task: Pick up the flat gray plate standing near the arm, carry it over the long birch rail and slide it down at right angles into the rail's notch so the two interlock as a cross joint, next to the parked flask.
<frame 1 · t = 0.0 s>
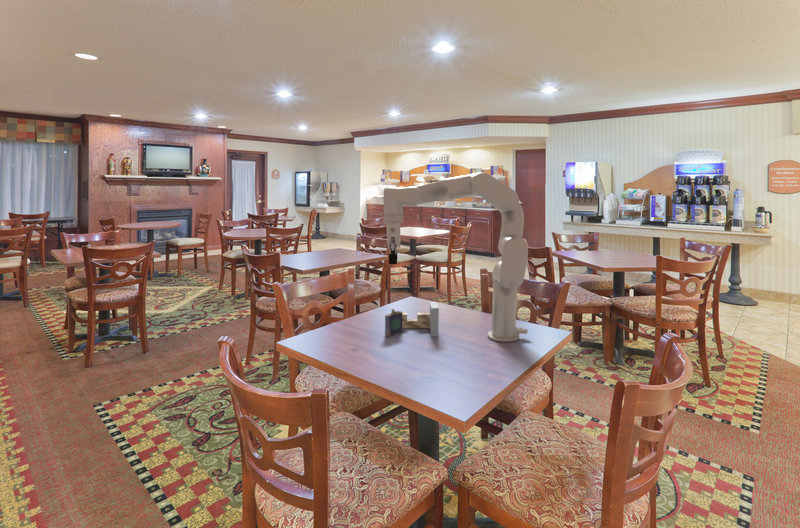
hand: (393, 262, 177), 31 cm above the table, fingers open, 9 cm apart
flat gray plate: (433, 332, 188), on the table
flask: (393, 334, 186), on the table
rail: (412, 326, 196), on the table
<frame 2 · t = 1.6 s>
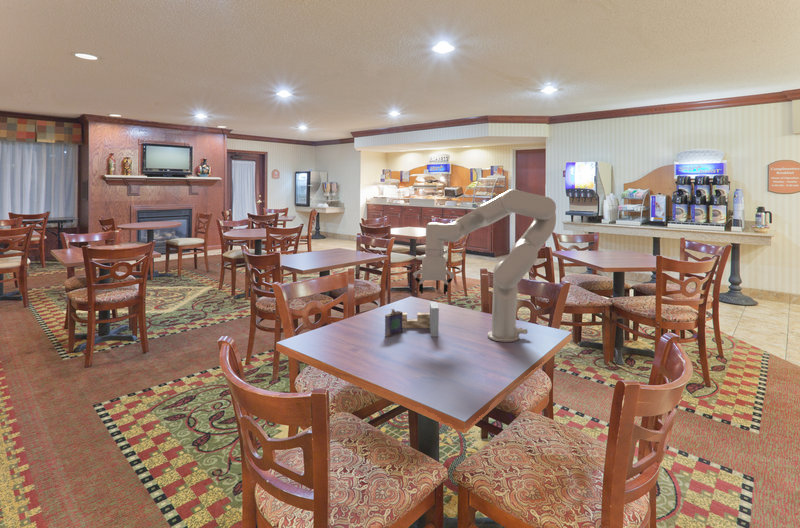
hand: (433, 293, 185), 17 cm above the table, fingers open, 9 cm apart
nothing on the table moved.
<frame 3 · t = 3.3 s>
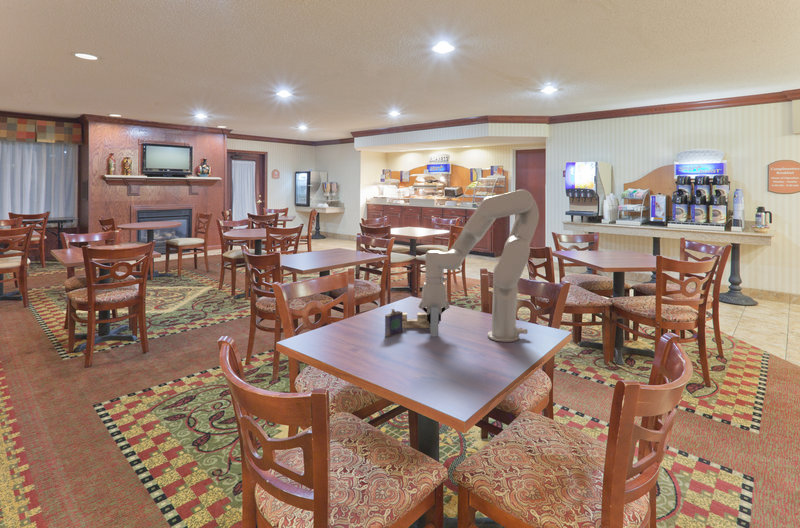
hand: (433, 322, 187), 4 cm above the table, fingers closed on flat gray plate, 3 cm apart
flat gray plate: (433, 332, 188), on the table, touching gripper
everything else where it was.
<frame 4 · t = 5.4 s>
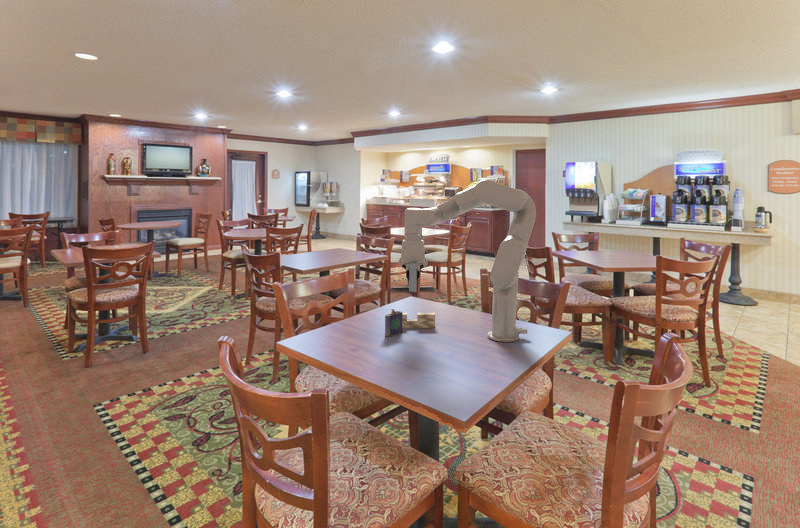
hand: (412, 279, 192), 21 cm above the table, fingers closed on flat gray plate, 3 cm apart
flat gray plate: (412, 289, 193), point 17 cm above the table, touching gripper
everything else where it was.
when the fingers open (7 cm above the table, at t = 7.6 s): flat gray plate drops 3 cm, resting on rail.
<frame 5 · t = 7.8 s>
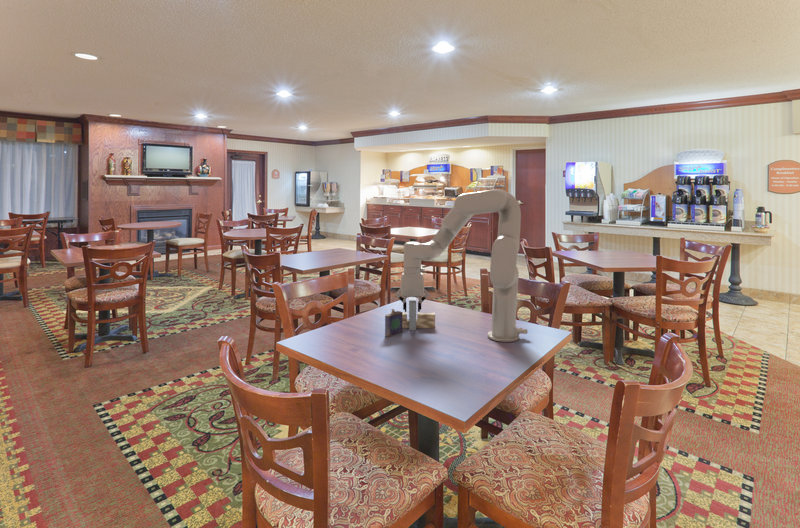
hand: (412, 310, 195), 7 cm above the table, fingers open, 5 cm apart
flat gray plate: (412, 326, 196), resting on rail
everything else where it was.
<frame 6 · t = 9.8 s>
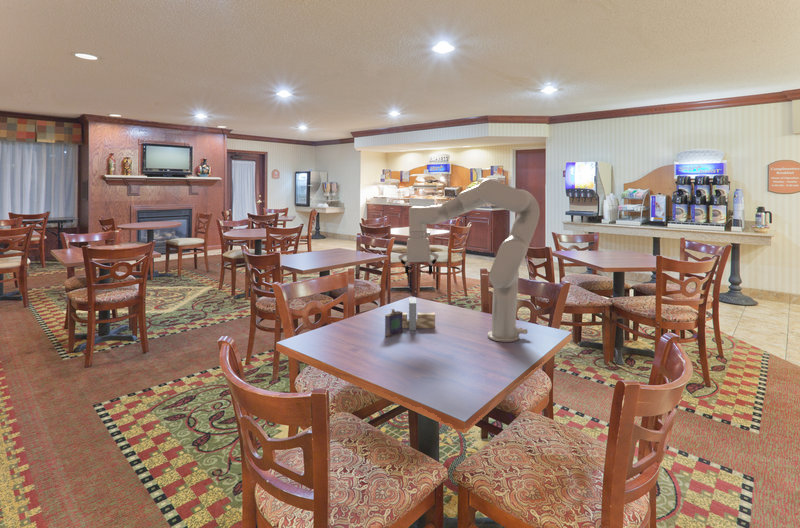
hand: (418, 274, 192), 23 cm above the table, fingers open, 9 cm apart
nothing on the table moved.
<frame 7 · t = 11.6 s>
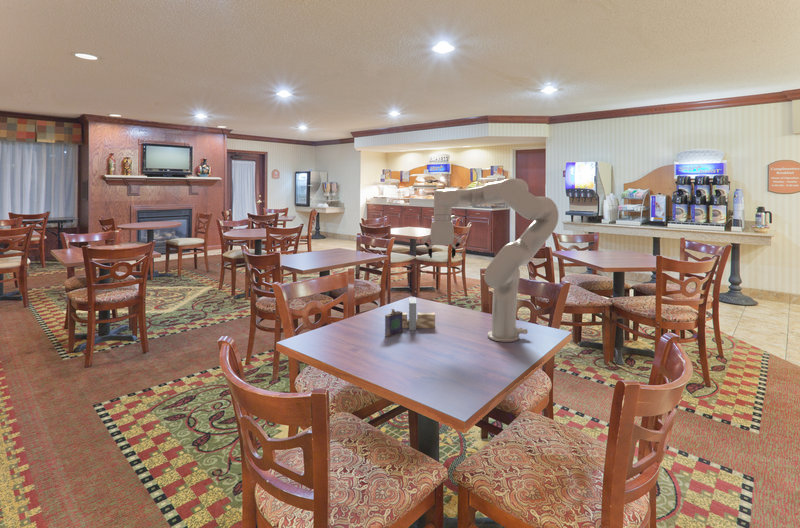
hand: (441, 257, 195), 30 cm above the table, fingers open, 9 cm apart
nothing on the table moved.
at the end: flat gray plate 0.1 cm off-centre on the rail, point 0.0 cm above the rail's base; flat gray plate tilted 0°; the gripper is holding nothing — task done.
